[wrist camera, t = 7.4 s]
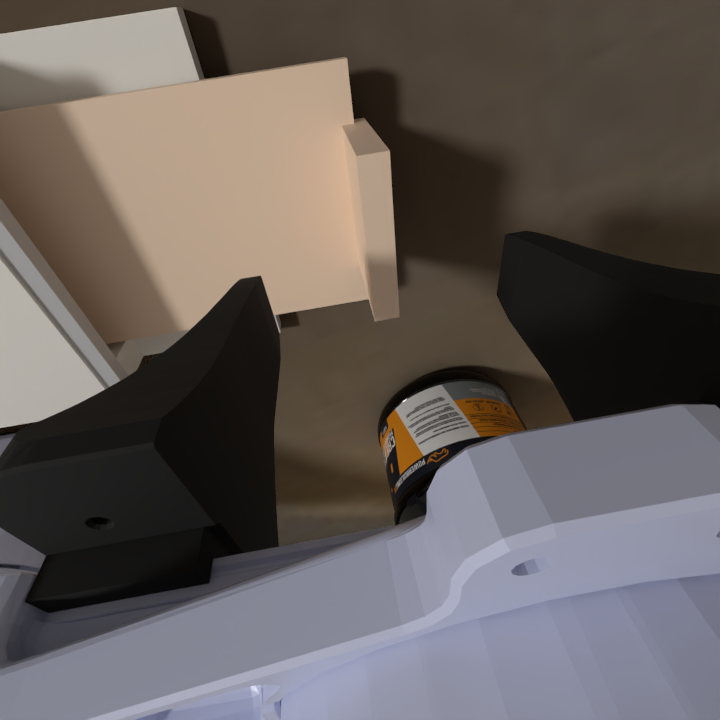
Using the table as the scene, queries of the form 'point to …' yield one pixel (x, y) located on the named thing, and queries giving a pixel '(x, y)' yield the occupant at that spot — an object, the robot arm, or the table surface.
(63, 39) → the ticket dispenser
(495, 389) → the supplement container
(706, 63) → the table surface
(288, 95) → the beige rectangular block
